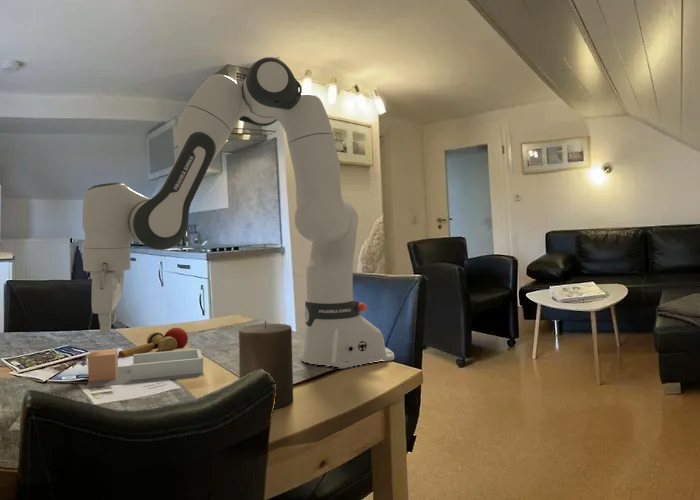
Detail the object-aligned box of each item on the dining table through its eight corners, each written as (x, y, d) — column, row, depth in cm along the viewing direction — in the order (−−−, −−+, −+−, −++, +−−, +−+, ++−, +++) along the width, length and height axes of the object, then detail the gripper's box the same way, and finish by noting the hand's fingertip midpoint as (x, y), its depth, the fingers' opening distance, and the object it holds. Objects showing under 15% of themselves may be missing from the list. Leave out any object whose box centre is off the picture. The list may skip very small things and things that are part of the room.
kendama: (133, 371, 121) (197, 345, 135) (126, 345, 121) (190, 322, 135) (117, 371, 126) (180, 347, 140) (110, 346, 125) (174, 324, 140)
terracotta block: (118, 372, 110) (117, 348, 110) (115, 378, 105) (115, 354, 105) (92, 374, 108) (91, 351, 108) (88, 381, 104) (87, 356, 103)
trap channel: (199, 365, 120) (199, 346, 120) (204, 382, 107) (203, 361, 107) (94, 375, 113) (94, 355, 112) (85, 395, 99) (84, 372, 99)
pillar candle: (296, 407, 92) (295, 323, 91) (240, 412, 89) (239, 326, 89) (289, 391, 101) (288, 315, 100) (238, 395, 99) (237, 317, 98)
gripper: (119, 265, 98) (120, 337, 98) (127, 258, 117) (128, 318, 118) (82, 266, 96) (83, 339, 96) (96, 258, 115) (97, 320, 116)
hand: (108, 328), depth 107 cm, fingers open, 8 cm apart
